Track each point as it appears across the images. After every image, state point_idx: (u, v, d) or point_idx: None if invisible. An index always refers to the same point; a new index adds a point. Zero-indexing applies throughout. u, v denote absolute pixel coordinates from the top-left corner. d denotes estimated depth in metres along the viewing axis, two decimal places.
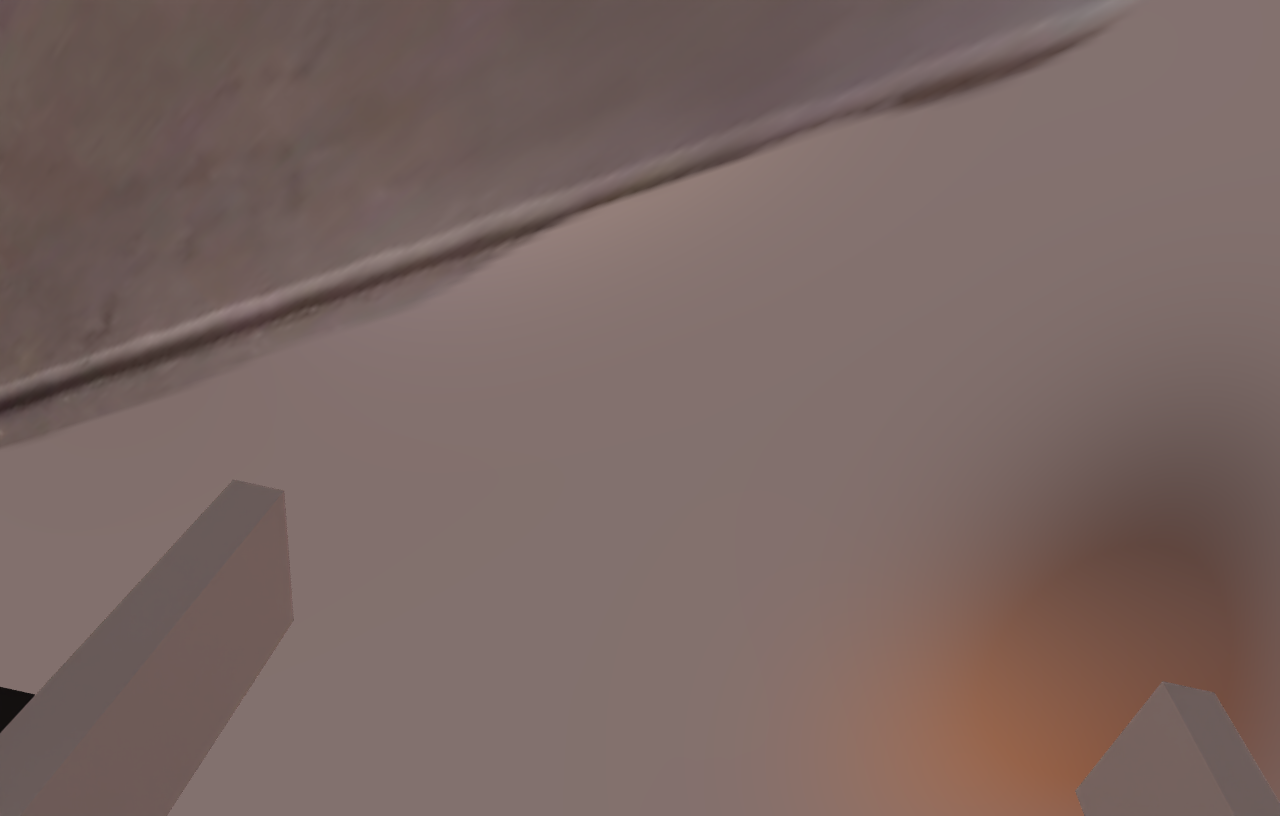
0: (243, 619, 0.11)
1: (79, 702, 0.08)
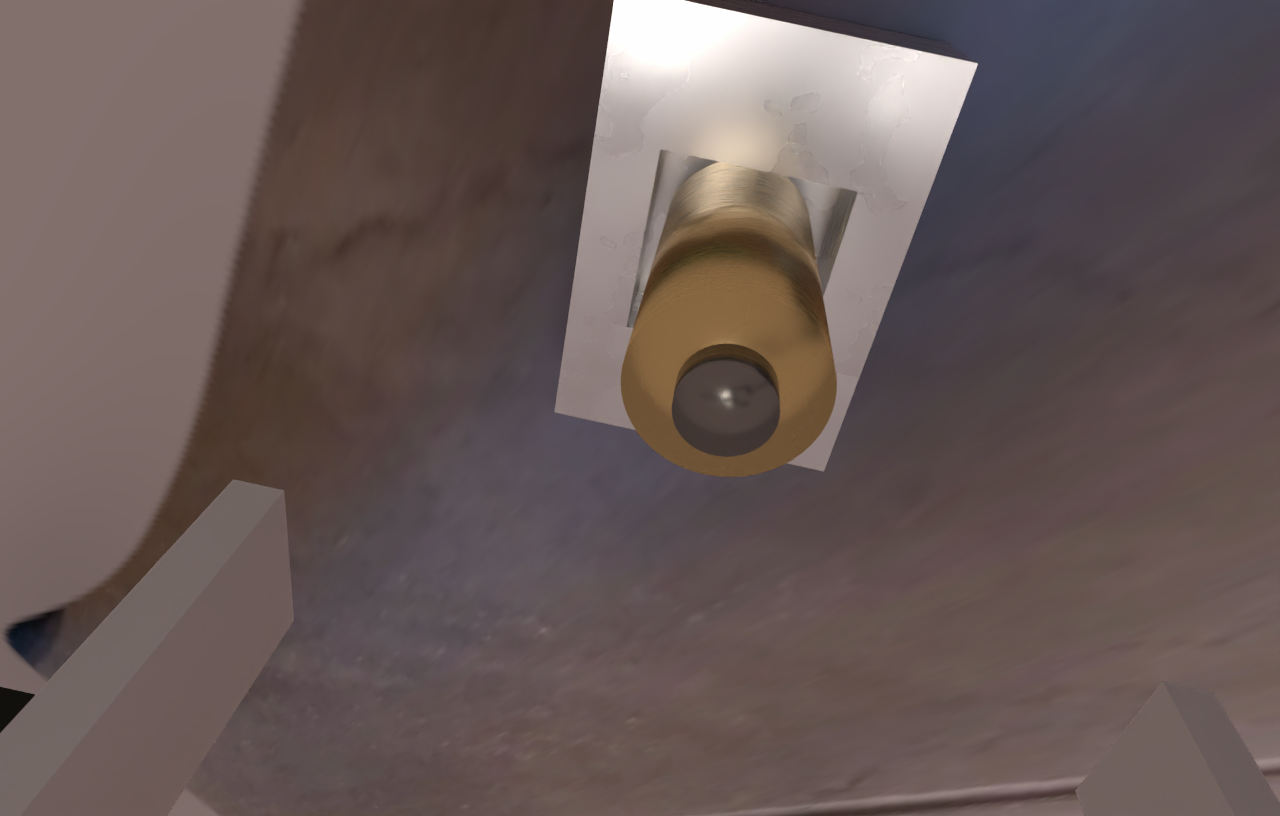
0: (243, 619, 0.11)
1: (79, 702, 0.08)
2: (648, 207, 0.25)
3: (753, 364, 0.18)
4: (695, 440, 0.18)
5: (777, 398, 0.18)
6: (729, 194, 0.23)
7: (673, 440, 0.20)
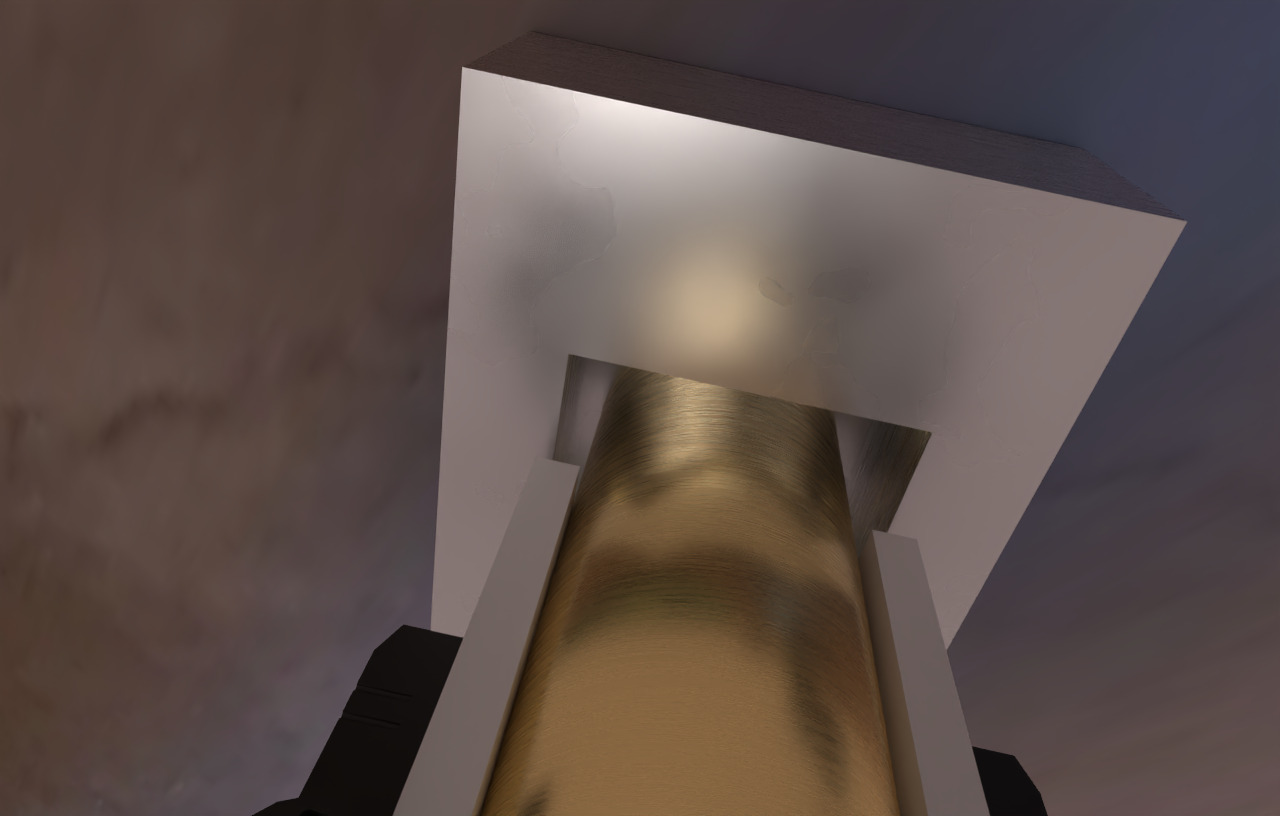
0: None
1: (503, 634, 0.10)
2: (554, 442, 0.14)
3: None
4: None
5: None
6: (694, 446, 0.13)
7: None
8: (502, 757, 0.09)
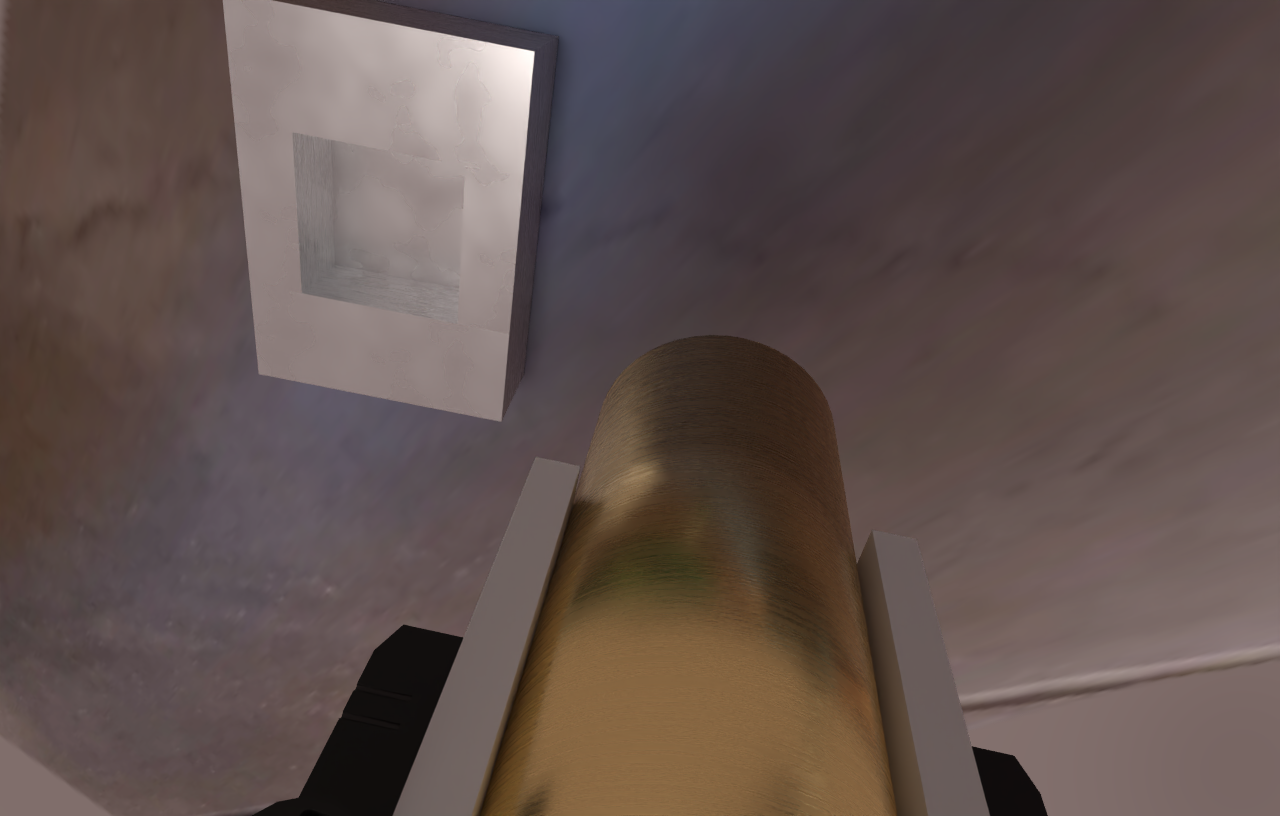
0: None
1: (503, 634, 0.10)
2: (295, 184, 0.28)
3: None
4: None
5: None
6: (693, 447, 0.13)
7: None
8: (500, 757, 0.09)
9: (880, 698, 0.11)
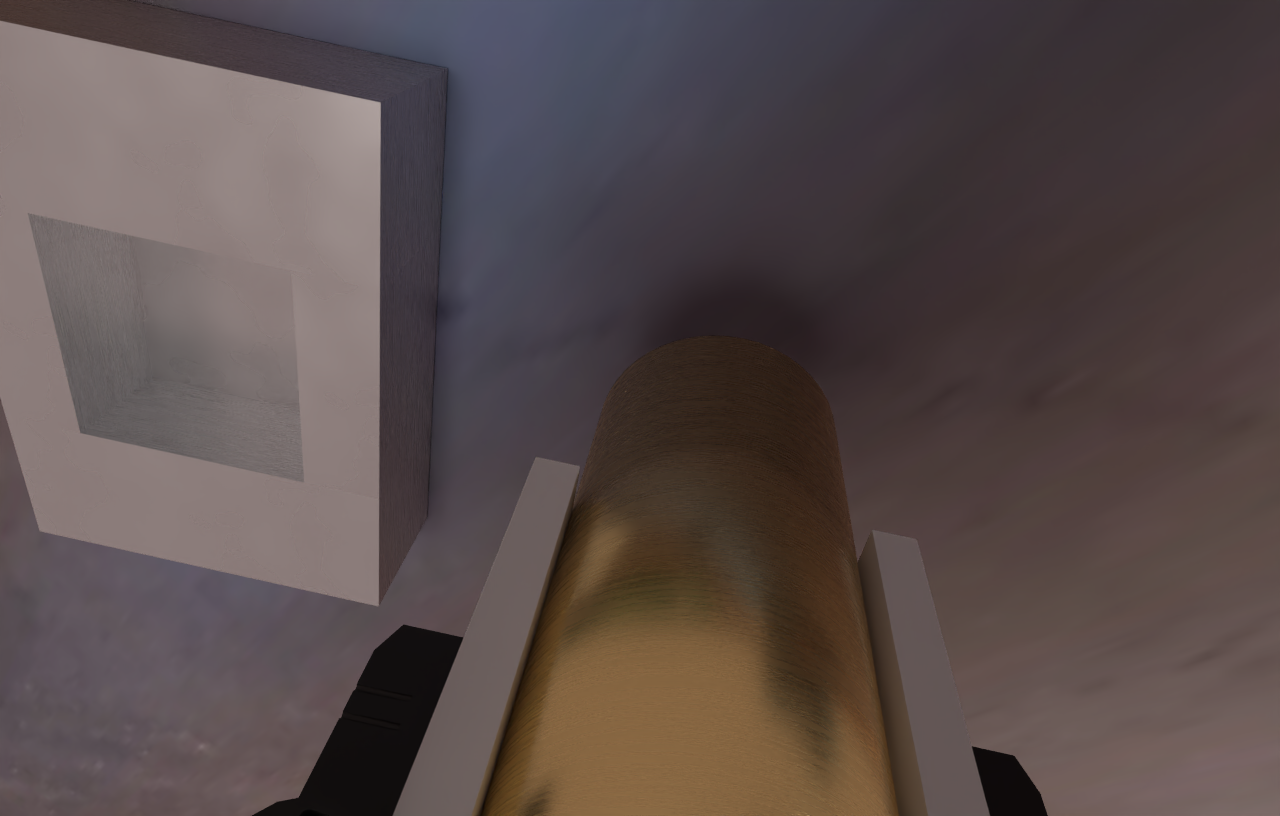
0: None
1: (502, 634, 0.10)
2: (47, 286, 0.19)
3: None
4: None
5: None
6: (694, 448, 0.13)
7: None
8: (502, 758, 0.09)
9: (880, 698, 0.11)
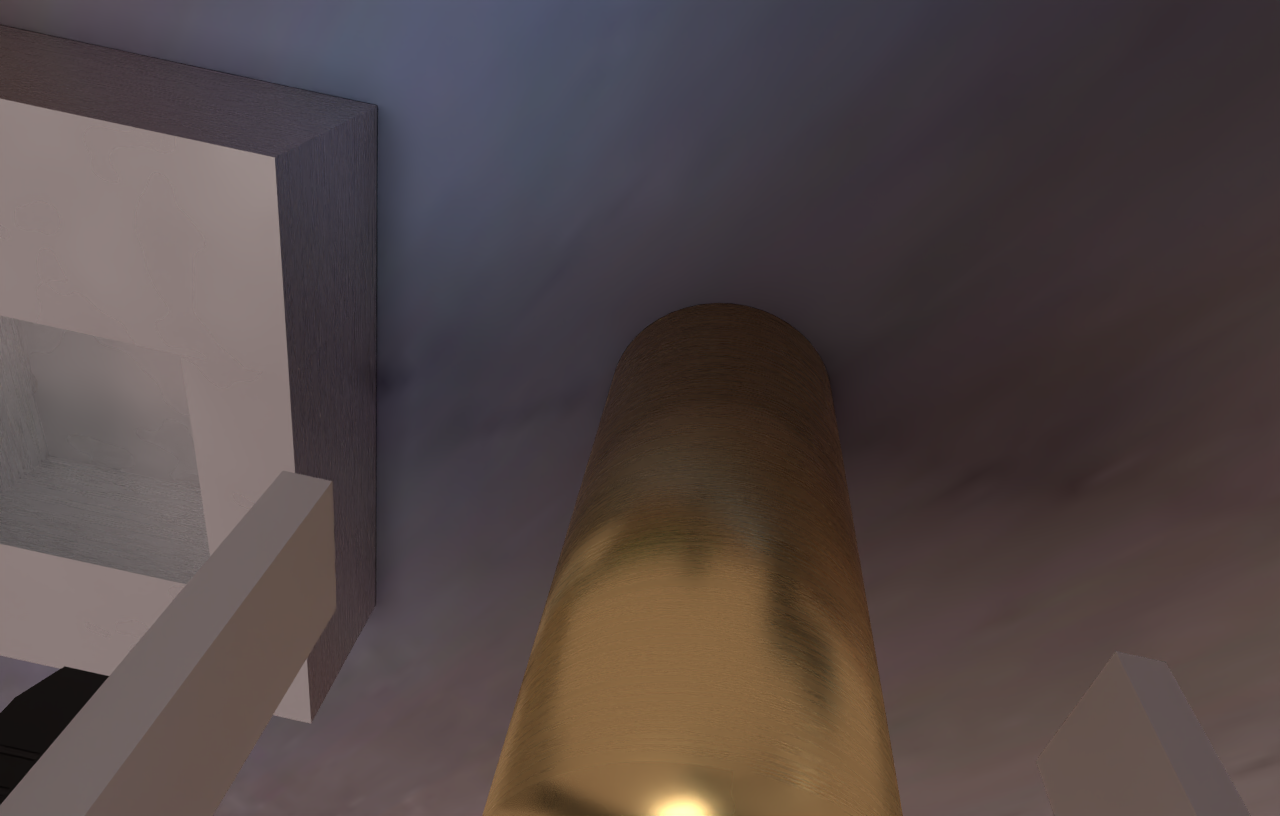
0: (294, 605, 0.12)
1: (153, 681, 0.09)
2: None
3: None
4: None
5: None
6: (701, 397, 0.14)
7: None
8: (535, 655, 0.11)
9: None
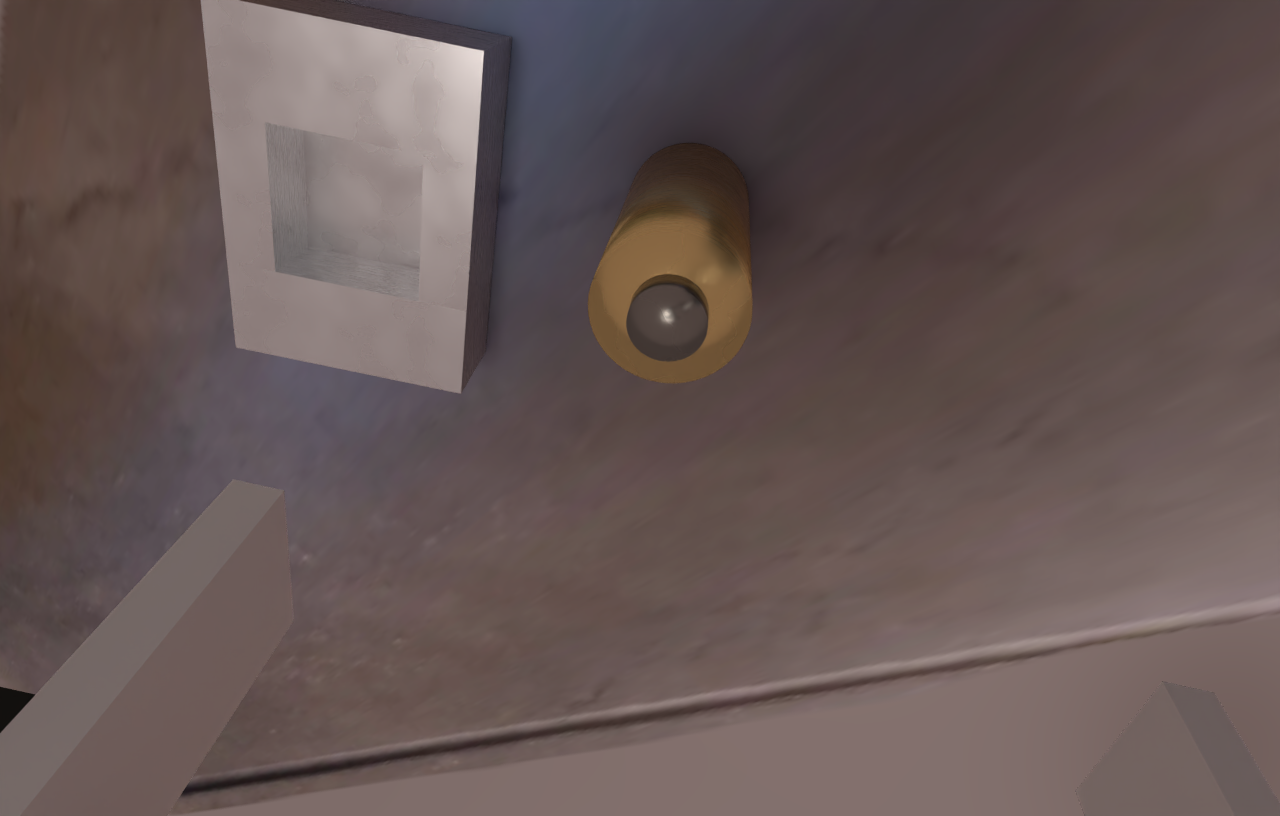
0: (243, 619, 0.11)
1: (79, 702, 0.08)
2: (268, 170, 0.31)
3: (686, 287, 0.23)
4: (645, 348, 0.24)
5: (705, 313, 0.23)
6: (676, 168, 0.29)
7: (630, 353, 0.25)
8: (607, 246, 0.26)
9: None
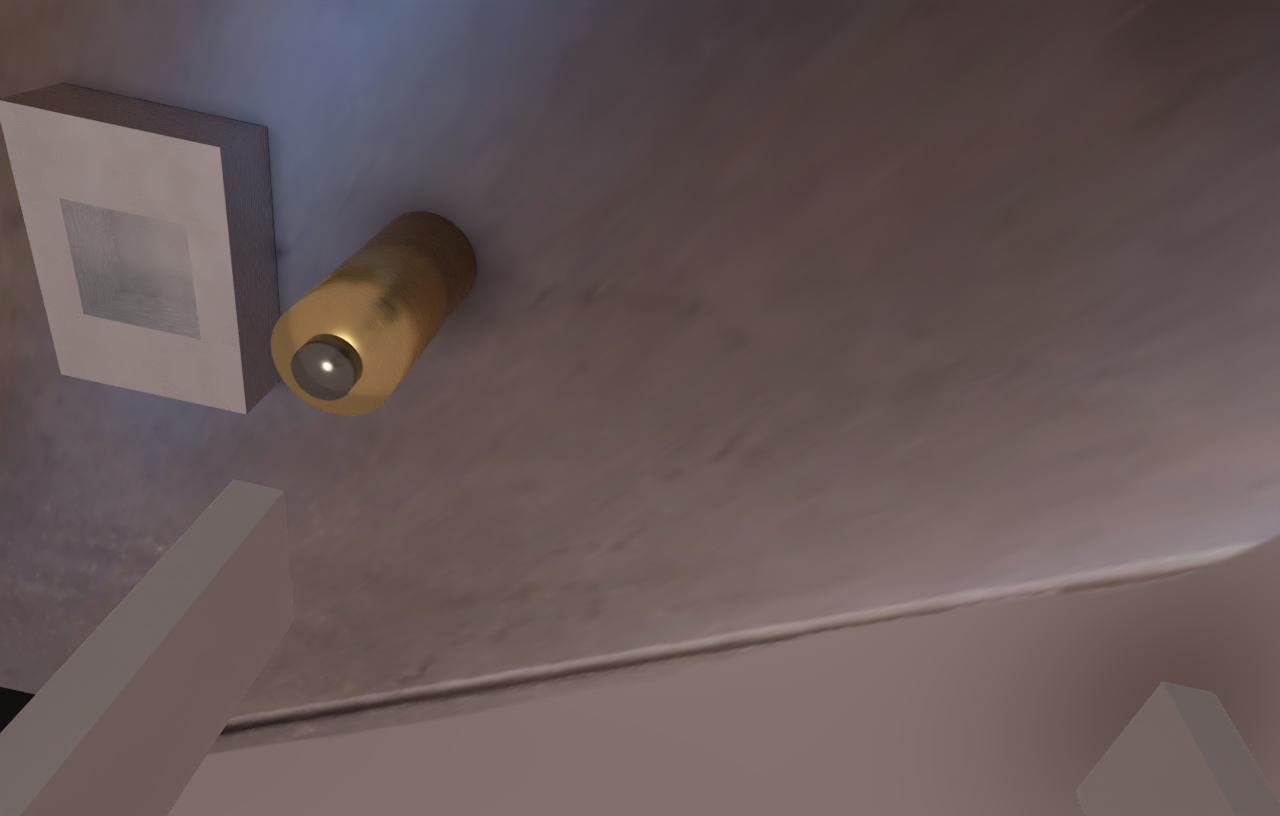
0: (243, 619, 0.11)
1: (79, 702, 0.08)
2: (67, 235, 0.38)
3: (333, 345, 0.30)
4: (309, 390, 0.31)
5: (347, 365, 0.31)
6: (384, 239, 0.36)
7: None
8: None
9: None
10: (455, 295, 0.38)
